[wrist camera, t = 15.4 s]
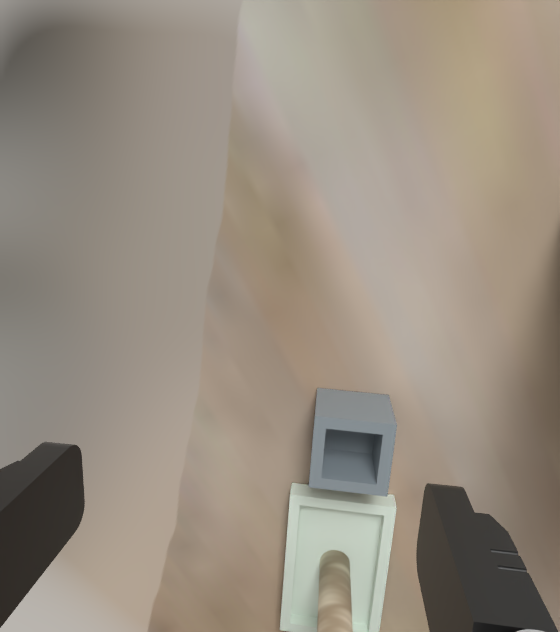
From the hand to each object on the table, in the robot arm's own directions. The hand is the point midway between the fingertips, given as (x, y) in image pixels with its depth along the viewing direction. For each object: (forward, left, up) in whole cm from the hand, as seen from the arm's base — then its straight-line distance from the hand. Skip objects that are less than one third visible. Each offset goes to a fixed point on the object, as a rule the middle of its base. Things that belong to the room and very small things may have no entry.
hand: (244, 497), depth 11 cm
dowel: (-5, +29, -32) cm, 43 cm away
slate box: (-5, +14, -33) cm, 36 cm away
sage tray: (-5, +29, -33) cm, 44 cm away
